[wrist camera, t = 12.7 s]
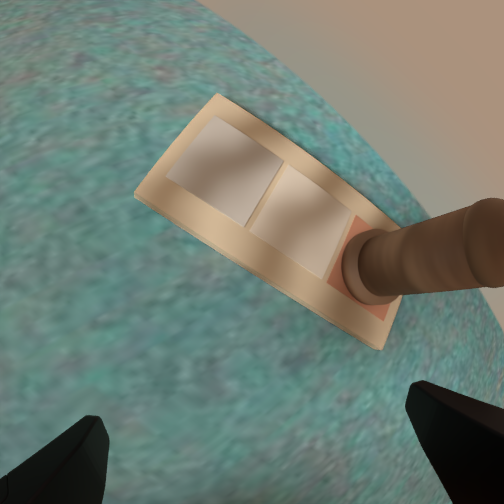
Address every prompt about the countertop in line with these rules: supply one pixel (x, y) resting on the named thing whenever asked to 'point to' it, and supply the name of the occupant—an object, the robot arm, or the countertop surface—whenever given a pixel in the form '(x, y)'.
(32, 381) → the countertop surface
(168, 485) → the countertop surface
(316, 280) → the board
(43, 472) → the robot arm
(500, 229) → the pawn
